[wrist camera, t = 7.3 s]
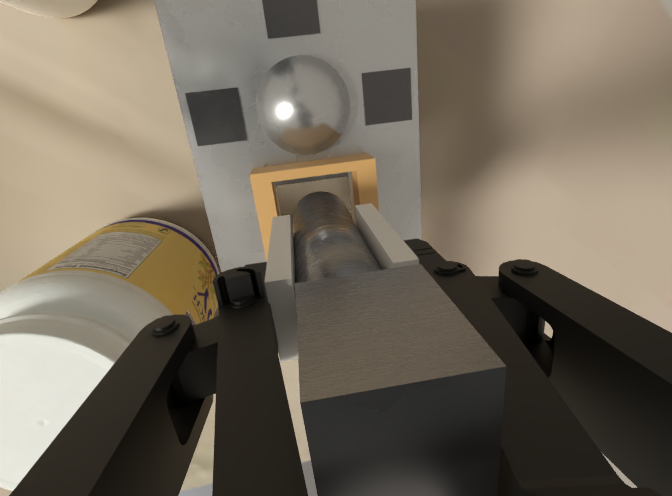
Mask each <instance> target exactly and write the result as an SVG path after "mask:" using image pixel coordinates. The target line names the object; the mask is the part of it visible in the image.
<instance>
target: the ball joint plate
mask: <svg viewBox="0 0 672 496" xmlns="http://www.w3.org/2000/svg"><path fill="white" fill-rule="evenodd" d="M154 2H155V6H156V10H157V15H158V19H159V23H160V27H161V31H162V35H163V39H164V43H165V47H166V51H167V55H168V59H169V63H170V67H171V71H172V75H173V79H174V83H175V87H176V91H177V95H178V99H179V103H180V108H181V112H182V116H183V120H184V124H185V128H186V132H187V136H188V140H189V144H190V148H191V152H192V156H193V160H194V164H195V168H196V172H197V176H198V180H199V184H200V188H201V192H202V196H203V201H204V205H205V209H206V213H207V217H208V221H209V225H210V229H211V233H212V237H213V241H214V245H215V249H216V253H217V257H218V261H219V265H220V269H221V272H224V271H226V270H229V269H233V268H237V267H244V266H245V265H248V264H255V263H261V262H266V257H265V251H264V246H263V241H262V236H261V231H260V226H259V221H258V216H257V210H256V205H255V200H254V195H253V190H252V185H251V180H250V173H251V171H252V169H253V168H260V167H267V166H275V165H283V164H290V163H298V162H306V161H313V160H321V159H329V158H337V157H344V156H352V155H360V154H367V153H368V154H369V155H371V156H372V157H374V158H375V160H376V174H377V189H378V203H379V213H380V214H381V215H382V216H383V217H384V218H385V220H386V221H387V222H388V223H389V224H390V225H391V227H392V228H393V229H394V230H395V231H396V232H397V234H398V235H399V236H400V237H401V238H402V240H410V239H416V238H417V239H420V240H422V221H421V182H420V144H419V105H418V66H417V28H416V0H154ZM345 176H348V178H349V188H350V198H351V208H352V219H353V220H354V222H355V224H356V214H355V204H354V193H353V182H352V172H343V173H336V174H328V175H321V176H313V177H306V178H298V179H291V180H283V181H276V182H274V185H275V191H276V197H277V203H278V209H279V214H280V216H281V211H280V205H279V199H278V193H277V188H276V186H277V185H285V184H292V183H300V182H307V181H315V180H322V179H330V178H337V177H345ZM356 226H357V225H356Z"/></svg>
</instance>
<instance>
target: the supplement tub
mask: <svg viewBox="0 0 672 496" xmlns="http://www.w3.org/2000/svg"><path fill="white" fill-rule="evenodd" d="M217 275H219V270H218V267H217V264H216V262H215V260H214V258H213V256H212V255H211V253H210V251H209V250H208V249H207V247H206V246H205V245H204V244H203V243H202V242H201V241H200V240H199V239H198V238H197V237H196V236H194V235H193V234H192V233H190V232H189V231H187V230H186V229H184V228H182V227H180V226H178V225H175V224H173V223H170V222H167V221H163V220H159V219H153V218H129V219H123V220H119V221H115V222H112V223H110V224H107V225H105V226H103V227H101V228H99V229H98V230H96V231H95V232H93V233H92V234H91V235H89V236H88V237H86V238H85V239H83V240H82V241H80V242H79V243H77V244H76V245H74V246H72V247H71V248H69V249H68V250H66V251H65V252H63V253H62V254H60V255H59V256H57V257H56V258H54V259H53V260H51V261H49V262H48V263H46V264H45V265H43V266H42V267H40V268H39V269H37V270H36V271H34V272H32V273H31V274H29V275H28V276H26V277H25V278H23V279H22V280H20V281H19V282H17V283H15V284H13V285H11V286H10V287H8V288H6V289H5V290H3V291H2V292H0V487H1V488H4V489H8V490H11V491H13V490H14V489H15V488H16V487H17V485H18V484H19V483H20V482H21V480H22V479H23V478H24V477H25V475H26V474H27V473H28V471H29V470H30V469H31V468H32V466H33V465H34V464H35V463H36V461H37V460H38V459H39V458H40V456H41V455H42V454H43V453H44V451H45V450H46V449H47V448H48V446H49V445H50V444H51V443H52V441H53V440H54V439H55V438H56V436H57V435H58V434H59V432H60V431H61V430H62V429H63V427H64V426H65V425H66V424H67V422H68V421H69V420H70V419H71V417H72V416H73V415H74V414H75V412H76V411H77V410H78V409H79V407H80V406H81V405H82V404H83V402H84V401H85V400H86V398H87V397H88V396H89V395H90V393H91V392H92V391H93V390H94V388H95V387H96V386H97V385H98V383H99V382H100V381H101V380H102V378H103V377H104V376H105V375H106V373H107V372H108V371H109V370H110V368H111V367H112V366H113V364H114V363H115V362H116V361H117V359H118V358H119V357H120V356H121V354H122V353H123V352H124V351H125V349H126V348H127V347H128V346H129V344H130V343H131V342H132V341H133V339H134V338H135V337H136V336H137V334H138V333H139V332H140V331H141V330H142V329H143V328H144V327H145V326H146V325H147V324H149V323H151V322H153V321H154V320H155V319H157V318H161V317H163V316H166V315H168V316H170V315H180V314H183V315H186V316H188V317H189V318H190V319H191V322H192V325H196V324H199V323H202V322H205V321H208V320H210V319H213V318H214V315H215V312H216V310H217V308H218V302H217V298H216V294H215V290H214V286H213V282H212V281H213V279H214V278H215V277H216V276H217Z"/></svg>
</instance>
